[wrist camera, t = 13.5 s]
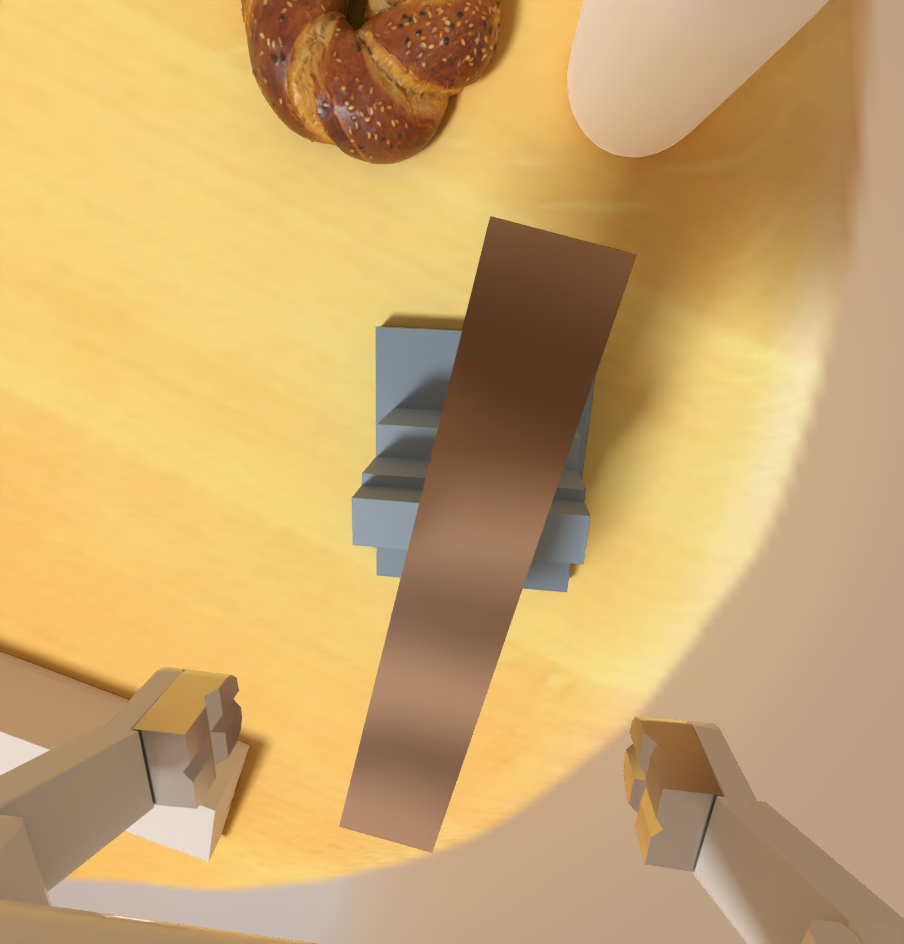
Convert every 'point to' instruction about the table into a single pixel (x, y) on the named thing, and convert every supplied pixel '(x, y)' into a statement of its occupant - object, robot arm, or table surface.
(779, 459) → the table surface
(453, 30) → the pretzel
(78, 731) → the beige long block
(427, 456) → the gray stepped block
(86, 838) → the robot arm
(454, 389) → the walnut bar
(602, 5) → the can
